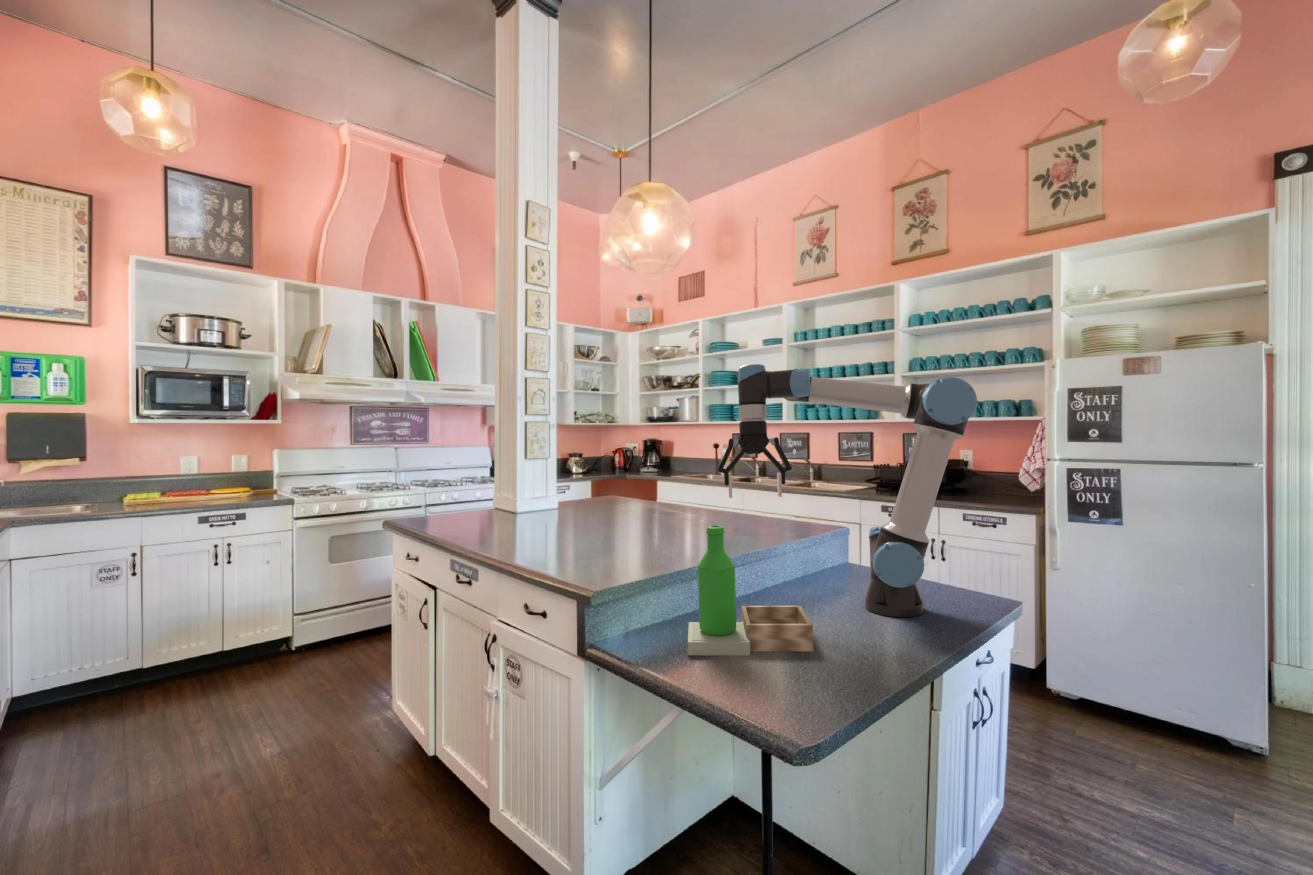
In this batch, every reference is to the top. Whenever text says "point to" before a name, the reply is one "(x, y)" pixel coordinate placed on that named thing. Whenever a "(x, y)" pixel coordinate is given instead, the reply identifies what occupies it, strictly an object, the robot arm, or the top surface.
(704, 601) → the bottle
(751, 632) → the open square wooden frame
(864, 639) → the top surface
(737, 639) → the stand block
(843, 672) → the top surface
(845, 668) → the top surface
